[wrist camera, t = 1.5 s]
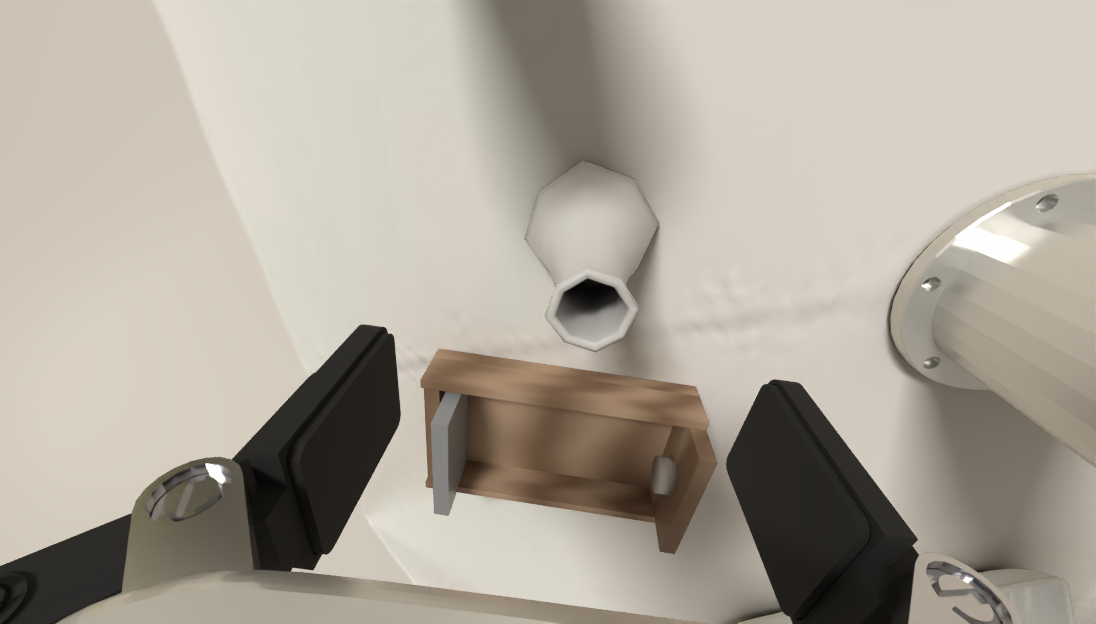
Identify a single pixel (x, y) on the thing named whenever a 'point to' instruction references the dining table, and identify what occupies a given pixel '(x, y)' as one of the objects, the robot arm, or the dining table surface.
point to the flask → (591, 251)
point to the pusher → (449, 449)
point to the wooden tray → (577, 439)
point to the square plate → (1028, 591)
